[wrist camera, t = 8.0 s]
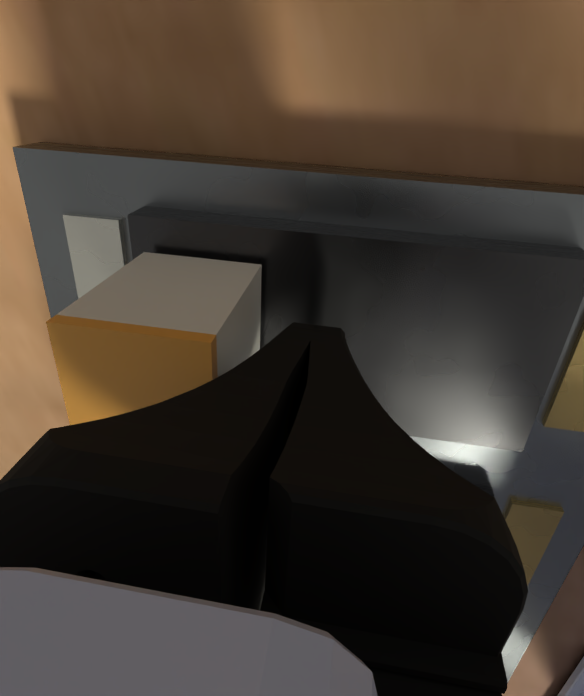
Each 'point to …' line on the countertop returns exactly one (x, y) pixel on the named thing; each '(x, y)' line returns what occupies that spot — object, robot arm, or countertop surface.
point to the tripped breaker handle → (154, 333)
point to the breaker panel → (375, 302)
